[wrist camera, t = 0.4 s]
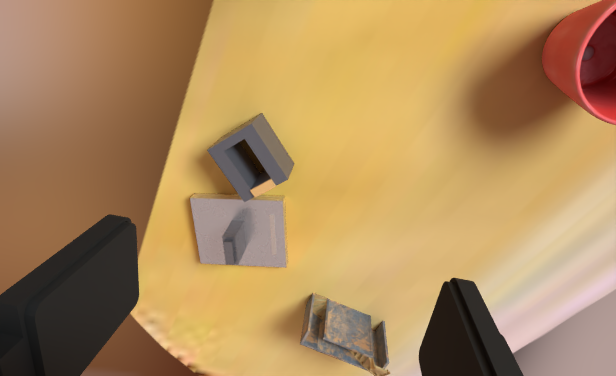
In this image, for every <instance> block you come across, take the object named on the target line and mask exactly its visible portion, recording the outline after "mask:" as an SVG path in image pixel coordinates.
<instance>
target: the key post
mask: <svg viewBox="0 0 616 376" xmlns="http://www.w3.org/2000/svg"><path fill="white" fill-rule="evenodd" d="M190 202H191V208H192V214H193V220H194V226H195V232H196V238H197V244H198V250H199V256H200V262H201V263H205V264H226V265H247V266H267V267H287V263H288V251H287V231H286V212H285V196H278V195H259V196H257V197H254V198H252V199H250V200H248V201H246V202H244V201H243V200H242V198H241V197H240V196H239V194H205V193H194V194H193V195H192V196H191V197H190Z"/></svg>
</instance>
